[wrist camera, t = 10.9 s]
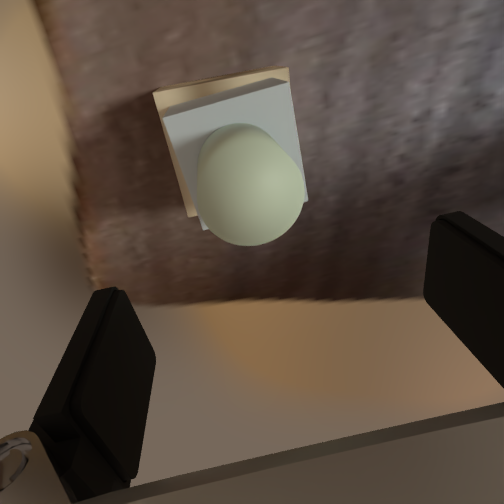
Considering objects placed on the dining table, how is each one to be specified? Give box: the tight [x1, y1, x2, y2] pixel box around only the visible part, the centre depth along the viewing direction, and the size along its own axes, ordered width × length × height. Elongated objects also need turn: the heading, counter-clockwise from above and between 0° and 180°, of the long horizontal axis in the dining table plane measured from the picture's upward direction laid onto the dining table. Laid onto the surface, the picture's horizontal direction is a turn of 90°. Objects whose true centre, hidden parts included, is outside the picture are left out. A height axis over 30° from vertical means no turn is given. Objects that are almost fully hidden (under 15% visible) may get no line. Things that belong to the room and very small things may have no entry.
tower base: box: [153, 66, 290, 217], centre depth 26 cm, size 9×9×5 cm
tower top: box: [163, 77, 308, 230], centre depth 22 cm, size 7×7×5 cm
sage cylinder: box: [197, 123, 305, 246], centre depth 17 cm, size 5×5×5 cm
